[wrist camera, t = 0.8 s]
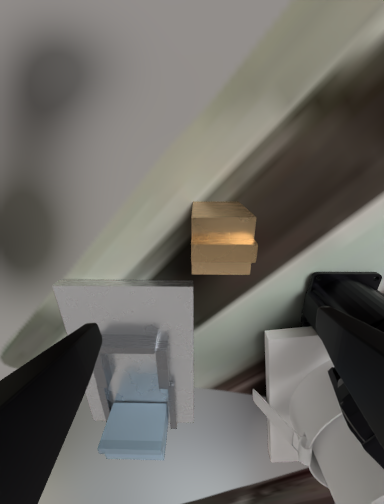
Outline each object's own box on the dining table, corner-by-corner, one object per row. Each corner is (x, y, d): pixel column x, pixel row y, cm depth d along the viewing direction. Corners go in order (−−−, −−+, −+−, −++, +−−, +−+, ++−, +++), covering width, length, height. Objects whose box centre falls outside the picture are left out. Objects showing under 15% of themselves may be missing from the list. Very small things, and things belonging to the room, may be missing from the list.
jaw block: (238, 201, 18) (260, 221, 12) (235, 244, 20) (253, 282, 13) (193, 201, 18) (190, 221, 12) (193, 244, 20) (191, 281, 14)
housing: (166, 403, 27) (160, 450, 23) (168, 422, 29) (163, 469, 24) (113, 402, 27) (97, 448, 23) (117, 421, 29) (103, 467, 24)
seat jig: (193, 280, 21) (192, 297, 19) (193, 413, 30) (193, 438, 27) (59, 279, 22) (39, 296, 19) (97, 411, 30) (87, 436, 27)
